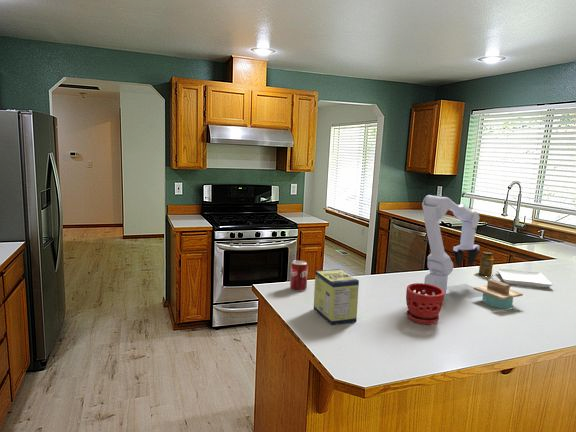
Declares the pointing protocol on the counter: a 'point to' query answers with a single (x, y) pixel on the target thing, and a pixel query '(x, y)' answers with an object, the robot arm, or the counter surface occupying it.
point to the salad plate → (524, 278)
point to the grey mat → (465, 290)
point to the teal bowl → (497, 301)
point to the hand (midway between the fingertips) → (464, 265)
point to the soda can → (298, 275)
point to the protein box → (336, 296)
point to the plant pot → (424, 303)
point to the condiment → (486, 265)
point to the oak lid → (498, 290)
